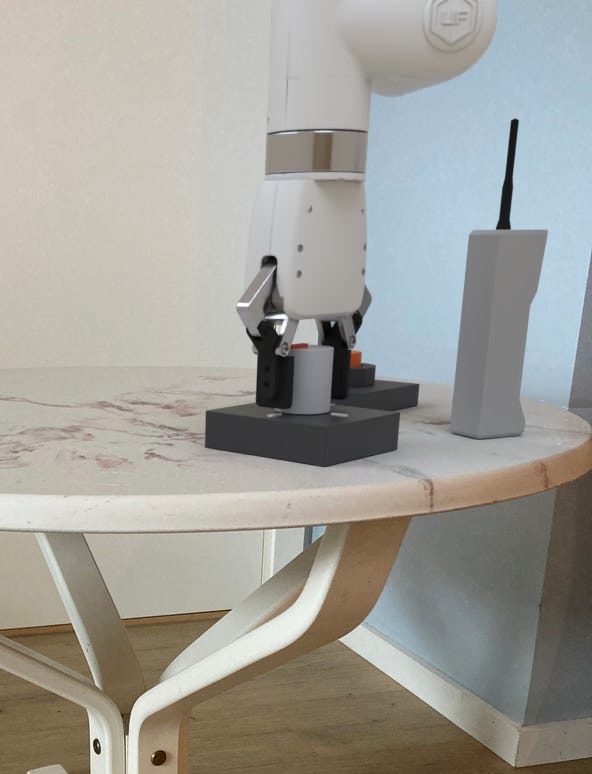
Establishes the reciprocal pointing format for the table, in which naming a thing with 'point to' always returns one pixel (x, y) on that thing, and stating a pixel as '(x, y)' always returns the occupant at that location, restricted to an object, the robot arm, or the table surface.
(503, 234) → the vintage mobile phone
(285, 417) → the timer panel
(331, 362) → the timer knob
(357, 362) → the button
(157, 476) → the table surface
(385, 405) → the block
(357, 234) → the robot arm
